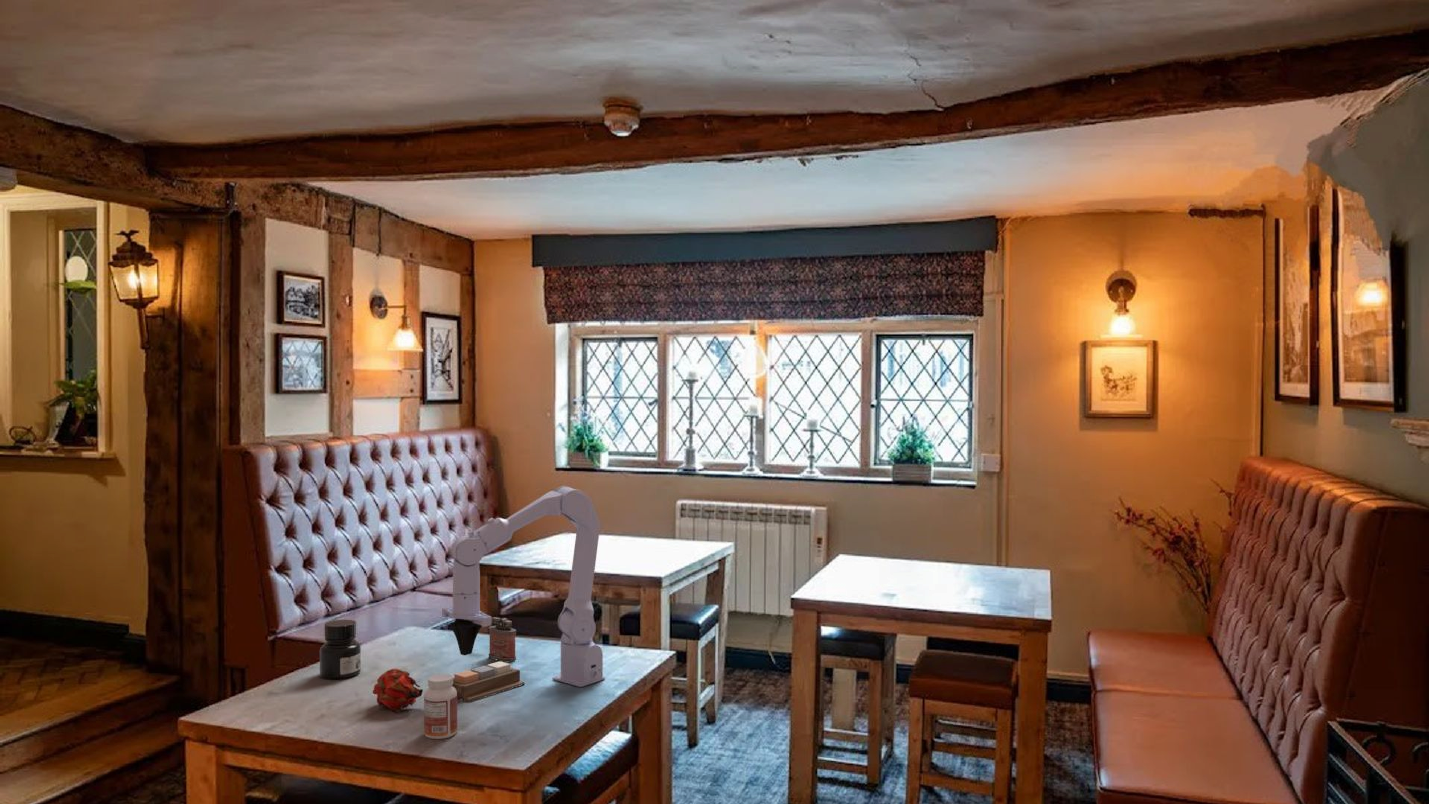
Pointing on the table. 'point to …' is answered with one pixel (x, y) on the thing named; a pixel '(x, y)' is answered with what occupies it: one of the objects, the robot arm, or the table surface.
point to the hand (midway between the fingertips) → (466, 654)
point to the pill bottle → (440, 707)
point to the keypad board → (488, 685)
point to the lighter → (502, 640)
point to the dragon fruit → (396, 690)
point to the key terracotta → (466, 677)
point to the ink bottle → (340, 651)
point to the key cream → (500, 667)
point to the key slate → (484, 672)
